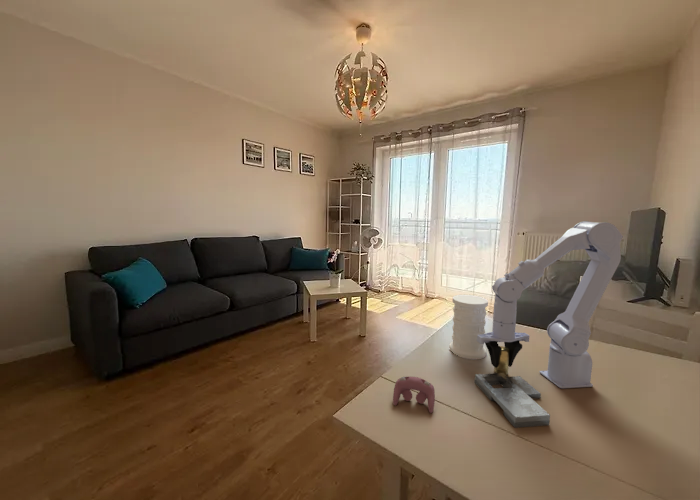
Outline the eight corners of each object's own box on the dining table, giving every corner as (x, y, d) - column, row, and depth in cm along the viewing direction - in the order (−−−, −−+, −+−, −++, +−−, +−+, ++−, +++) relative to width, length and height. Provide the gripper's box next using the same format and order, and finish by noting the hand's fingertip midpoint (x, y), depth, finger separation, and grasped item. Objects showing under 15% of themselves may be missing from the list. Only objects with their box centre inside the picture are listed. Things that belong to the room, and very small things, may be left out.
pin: (503, 368, 87) (504, 345, 86) (510, 374, 84) (512, 351, 83) (491, 368, 87) (492, 346, 86) (498, 375, 83) (500, 352, 82)
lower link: (519, 380, 82) (519, 376, 81) (540, 398, 74) (540, 393, 73) (474, 382, 80) (474, 378, 80) (491, 401, 72) (491, 396, 72)
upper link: (502, 381, 81) (503, 372, 81) (549, 425, 64) (550, 415, 64) (474, 382, 80) (475, 374, 80) (514, 427, 64) (515, 417, 63)
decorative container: (488, 348, 101) (491, 297, 98) (483, 363, 91) (486, 306, 89) (453, 340, 107) (456, 292, 104) (445, 353, 97) (447, 300, 95)
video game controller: (434, 411, 71) (435, 380, 73) (433, 414, 67) (435, 381, 69) (394, 402, 74) (396, 373, 77) (391, 405, 70) (393, 374, 73)
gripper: (519, 314, 88) (516, 357, 89) (472, 316, 86) (470, 359, 88) (536, 323, 81) (532, 369, 83) (485, 325, 80) (483, 372, 81)
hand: (501, 365), depth 85 cm, fingers closed on pin, 4 cm apart
